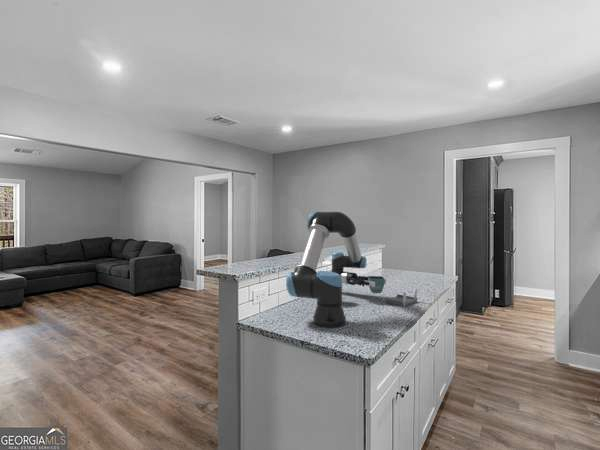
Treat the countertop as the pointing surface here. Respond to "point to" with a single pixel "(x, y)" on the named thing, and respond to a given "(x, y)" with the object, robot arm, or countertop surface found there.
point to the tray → (403, 299)
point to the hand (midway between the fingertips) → (380, 282)
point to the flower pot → (376, 283)
